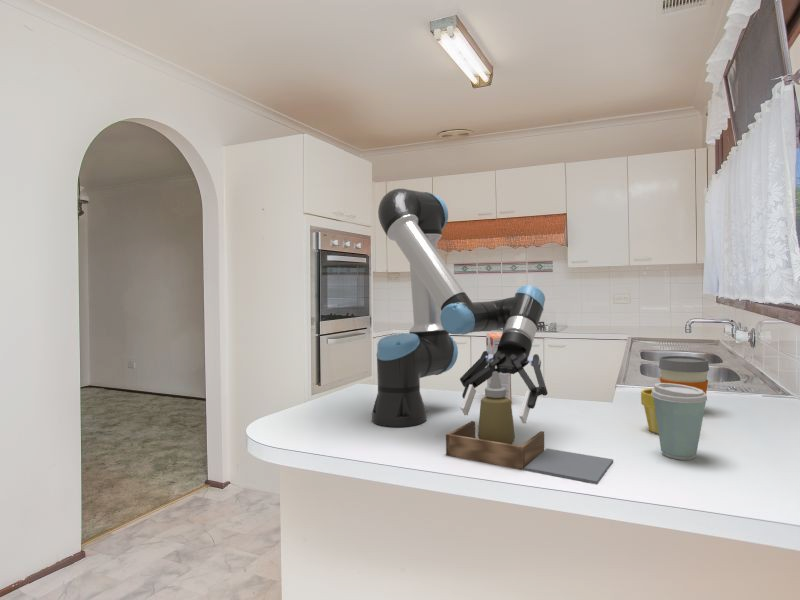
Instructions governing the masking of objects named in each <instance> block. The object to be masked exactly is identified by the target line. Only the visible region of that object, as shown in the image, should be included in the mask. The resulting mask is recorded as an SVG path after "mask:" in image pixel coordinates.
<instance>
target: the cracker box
mask: <svg viewBox="0 0 800 600" xmlns="http://www.w3.org/2000/svg"><path fill="white" fill-rule="evenodd" d="M502 333H503V332H488V333H487V332H486V333H485V343H486V345H485V346H486V347H485V348H486V350H485V351H487V352H488V354H493V355H494V354H495V353H496V352H497V348H498V344H499V341H500V339H501V336H502ZM492 361H493V360H492ZM492 361H491V362H492ZM488 365H489V363H488ZM488 365H487V366H488ZM487 366H486V367H487ZM496 368H497V366H495V369H496ZM491 378H492V377H490V378H489V379H487V380H486V385H487V386H486V387H490V383H491ZM499 378H500V382H501V386H502V387H504V388H506V394H507V395H506V396H505V397H507V398H509V399H510V400H511V405H512V399H513V398H512V374H510V373H501V372H500V373H499Z"/></svg>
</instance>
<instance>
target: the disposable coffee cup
mask: <svg viewBox="0 0 800 600" xmlns="http://www.w3.org/2000/svg"><path fill="white" fill-rule="evenodd" d="M651 389H652V393H651V396H653V399H654V405H655V412H656V419H657V426H658V433H659V434H658V438H659V446H660V451H661V452H662V455H663V456H665V457H666V458H670V459H674V460H678V461H681V460H682V461H687V460H689V461H690V460H693V459H695V457H696V455H697V453H698V447H699V443H700V435H701V431H702V426H703V419H704V414H705V409H706V404H707V403H706V402H707V401H708V399H707V398H708V396H707V393H706V394H705V392H703V390H701V389H698V388H695V387H691V386H686V385H680V384H672V383H660V382H657V383H654V385H653V388H651Z"/></svg>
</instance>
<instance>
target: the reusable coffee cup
mask: <svg viewBox="0 0 800 600" xmlns="http://www.w3.org/2000/svg"><path fill="white" fill-rule="evenodd" d="M709 365H710V364H709V360H708V358H704V357H698V356H686V355H666V356H664V355H663V356H660V357H659V362H658V369H659V370H660V377H659V383H672V384H680V385H686V386H691V387H695V388H698V389H701V390H703V392H705V394H706V395H707V390H708V385H709V380H708V378H707V377H708V373H709V371H710V366H709Z"/></svg>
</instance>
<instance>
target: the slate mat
mask: <svg viewBox="0 0 800 600" xmlns="http://www.w3.org/2000/svg"><path fill="white" fill-rule="evenodd" d="M613 463H614V459H613V458H608V457H607V458H606V457H601V456H596V455H595V456H594V455H590V454H589V455H588V454H584V453H583V454H582V453H576V452H572V451H564V450H559V449H552V448H544V451H543V452H542V453H541V454H540V455H538V456H537V457H536V458H535V459H534V460H532V461H531V462H530V463H529V464H528V465H527V466H525V467H524V470H523V471H527V470H528V472H532V471H533V472H532V473H537V472H538V473H539V474H542V475H543V474H544V475H547V474H548V475H549V476H554V477H558V478H563V479H568V480H569V479H570V480H574V481H579V482H583V483H589V482H591V483H590V484H594V483H596V484H595V485H598V484H599V482H600V480H601V479H602V478H601V477H603V476H604V475H605V474H606V472H607V471H608V470H609V469H610V467H611V465H612V464H613ZM607 469H608V470H607ZM604 473H605V474H604ZM598 481H599V482H598Z"/></svg>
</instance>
